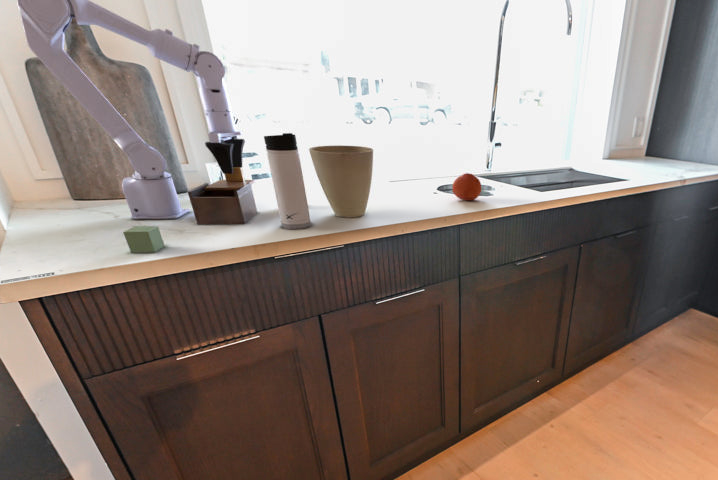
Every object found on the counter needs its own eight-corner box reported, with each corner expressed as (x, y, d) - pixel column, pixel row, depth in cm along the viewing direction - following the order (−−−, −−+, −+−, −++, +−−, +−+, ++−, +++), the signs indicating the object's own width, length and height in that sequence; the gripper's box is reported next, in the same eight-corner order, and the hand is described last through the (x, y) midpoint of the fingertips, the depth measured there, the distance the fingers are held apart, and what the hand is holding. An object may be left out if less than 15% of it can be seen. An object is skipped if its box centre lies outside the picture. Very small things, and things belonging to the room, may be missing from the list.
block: (131, 253, 80) (122, 232, 78) (141, 246, 83) (133, 226, 81) (155, 252, 80) (147, 231, 78) (164, 246, 84) (157, 225, 82)
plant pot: (309, 213, 111) (297, 146, 103) (360, 205, 121) (353, 144, 113) (338, 224, 102) (328, 153, 95) (390, 215, 112) (385, 150, 104)
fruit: (467, 195, 139) (467, 169, 135) (486, 200, 134) (487, 173, 130) (446, 199, 133) (446, 172, 129) (465, 204, 128) (465, 176, 124)
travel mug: (294, 231, 96) (275, 134, 86) (276, 226, 99) (256, 131, 89) (317, 225, 101) (302, 133, 91) (300, 221, 104) (283, 130, 94)
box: (197, 224, 98) (187, 191, 94) (214, 213, 107) (205, 182, 104) (245, 223, 100) (237, 191, 96) (257, 212, 109) (250, 183, 106)
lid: (204, 190, 101) (200, 173, 99) (220, 182, 110) (216, 166, 108) (242, 190, 103) (238, 173, 101) (255, 182, 112) (251, 166, 110)
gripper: (226, 112, 96) (241, 175, 103) (245, 111, 109) (257, 167, 115) (191, 111, 95) (209, 175, 102) (214, 109, 107) (228, 166, 114)
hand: (233, 171), depth 108 cm, fingers open, 7 cm apart
